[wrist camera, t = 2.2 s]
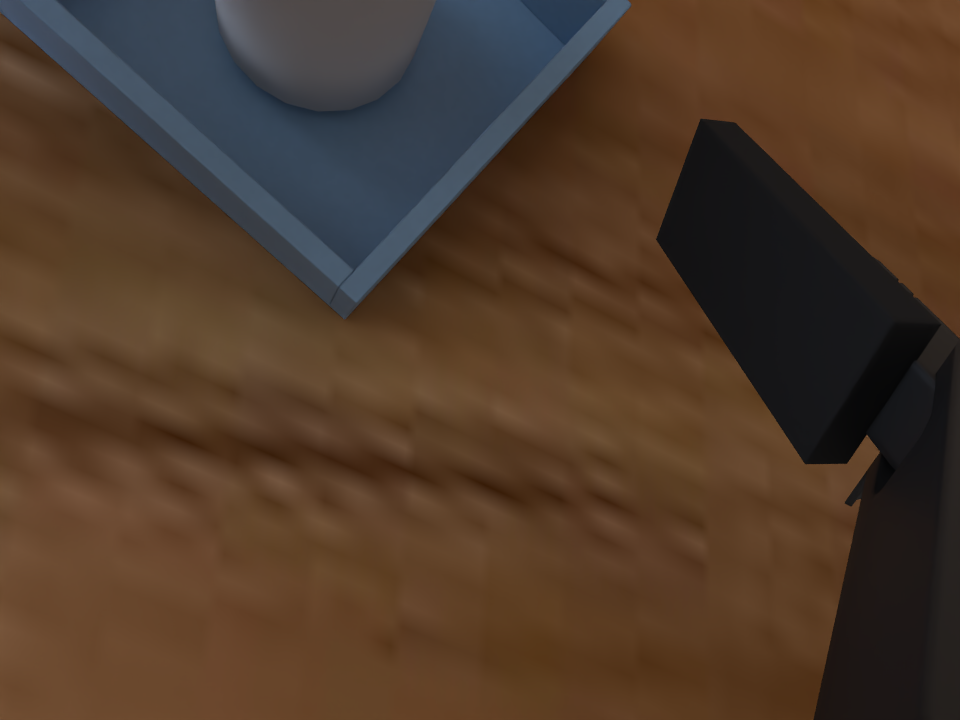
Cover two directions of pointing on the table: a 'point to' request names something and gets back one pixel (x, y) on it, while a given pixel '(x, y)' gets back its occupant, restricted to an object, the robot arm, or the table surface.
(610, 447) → the table surface
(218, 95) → the tray
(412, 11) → the can
